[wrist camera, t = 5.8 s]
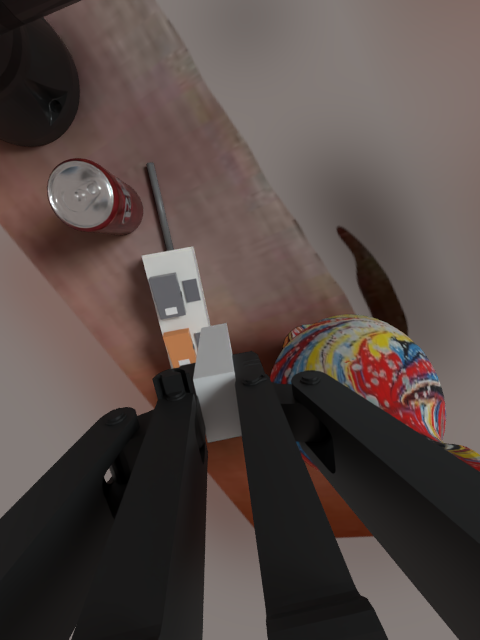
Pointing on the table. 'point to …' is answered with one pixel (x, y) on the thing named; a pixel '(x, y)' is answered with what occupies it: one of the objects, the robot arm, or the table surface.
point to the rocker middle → (180, 347)
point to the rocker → (167, 295)
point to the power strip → (186, 273)
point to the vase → (372, 372)
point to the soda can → (93, 198)
